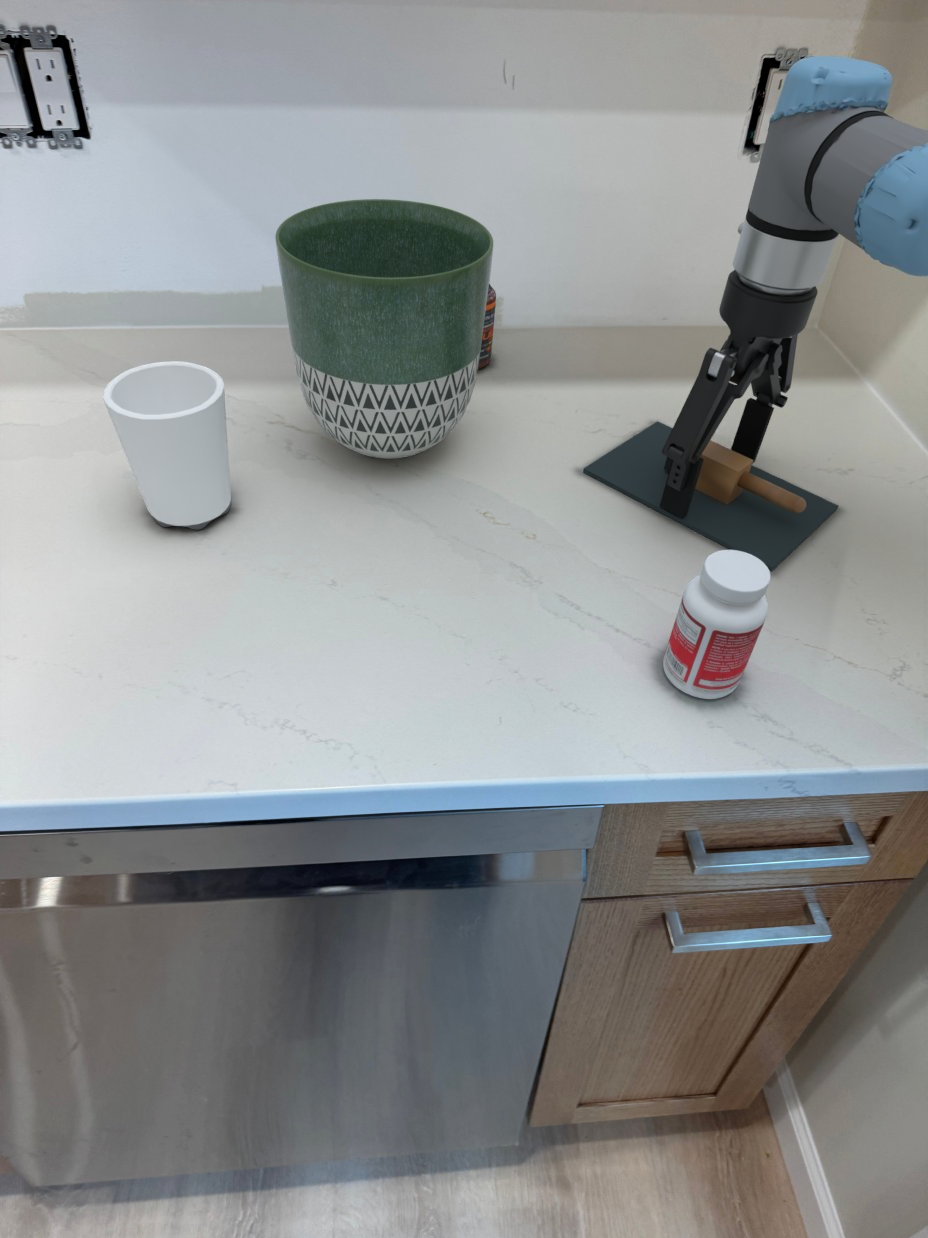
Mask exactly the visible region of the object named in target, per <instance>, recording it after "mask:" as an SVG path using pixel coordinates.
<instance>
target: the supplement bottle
mask: <svg viewBox="0 0 928 1238" xmlns="http://www.w3.org/2000/svg"><path fill="white" fill-rule="evenodd" d="M490 281H491V280H490ZM490 281H489V288H488V295H487V303H486V311H485V320H484V329H483V336H482V343H481V350H480V358H479V365H478V370H480V369H482V368H484V367H486V366H487V365H489V363H490V362H491V357H492V351H493V338H494V328H495V327H494V326H495V314H496V303H497V292H496V290H495V289H494V287H493V286H492V285H491V284H490Z"/></svg>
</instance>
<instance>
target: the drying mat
mask: <svg viewBox="0 0 928 1238" xmlns="http://www.w3.org/2000/svg"><path fill="white" fill-rule="evenodd" d="M672 429H673V427H671V426H669V425H666V424H664V423H662V422H660V421H659V420H657V421H655V422H654V423H652V424H651V425H650V426H647V427H646V428H644V429H643V430H641V431H639V432H638V433H637V434H635V435H633V436H632V437H631V438H629V439H627V440H626V441H624V442H623V443H621V444H619V445H618V446H617V447H615V448H613V449H612V450H610V451H608V452H607V453H605V454H603V455H602V456H600V457H599V458H597V459H596V460H594V461H593V462H591V463H590V464H588V465H586V466H585V467H583V470H582V472H583V473H584V474H585V475H588V476H590V477H592V478H593V479H596V480H597V481H599V482H601V483H603V484H605V485H607V486H609V487H610V488H613V489H614V490H616V491H618V492H621V493H622V494H624V495H625V496H628V497H630V498H632V499H634V500H635V501H637V502H639V503H641V504H643V505H645V506H646V507H649V508H651V509H653V510H654V511H656V512H658V513H660V514H662V515H663V516H666V517H668V518H670V519H672V520H673V521H675V522H677V523H679V524H681V525H683V526H685V527H686V528H689V529H690V530H692V531H694V532H696V533H698V534H700V535H702V536H703V537H705V538H708V539H709V540H711V541H713V542H715V543H717V544H718V545H721V546H723V547H725V548H726V549H727V550H737V551H742V552H745V553H748V554H751V555H753V556H755V557H757V558H758V559H760V560H761V561H762V562H763V563H764V564H765V565H766V566H767V567H768V569H769V571H770V572H772V571H773V570H775V569H776V568H777V567H778V566H779V565H780V564H781V563H783V561H784V560H786V559H787V557H788V556H790V554H792V553H793V552H794V551H795V550H796V549H797V548H798V547H799V546H800V545H801V544H802V543H803V542H804V541H805V540H806V539H807V538H808V537H810V536H811V535H812V534H813V533H814V532H815V531H817V529H818V528H819V527H820V526H821V525H822V524H823V523H824V522H826V520H828V518H829V517H831V516H832V515H833V514H834V513H835V512H836V511H837V510H838V508H839V505H838V504H836V503H834V502H832V501H830V500H828V499H825V498H823V497H821V496H819V495H817V494H815V493H812V492H811V491H808V490H806V489H804V488H803V487H800V486H798V485H795V484H794V483H791V482H789V481H786V480H784V479H783V478H780V477H778V476H776V475H774V474H772V473H770V472H768V471H765V470H763V469H762V468H759V467H757V466H754V465H753V464H752V466H751V469H750V472H749V473H751V474H753V475H755V476H757V477H759V478H761V479H764V480H766V481H768V482H770V483H772V484H774V485H776V486H778V487H781V488H783V489H785V490H787V491H789V492H791V493H793V494H795V495H797V496H800V497H802V498H803V499H804V500H805V501H806V508H805V510H804V511H803V512H801V513H793V512H791V511H789V510H787V509H785V508H782V507H780V506H778V505H776V504H774V503H772V502H770V501H768V500H766V499H764V498H762V497H760V496H758V495H756V494H754V493H751V492H749V491H747V490H745V489H743V492H742V494H740V495H739V496H738V497H737V498H735V499H734V500H733V501H732V502H730V503H729V504H728V505H727V504H725V503H723V502H721V501H719V500H717V499H715V498H713V497H711V496H709V495H707V494H704V493H702V492H700V491H698V490H696V489H695V490H694V493H693V496H692V500H691V503H690V506H689V509H688V513H687V515H686V516H685V517H684V518H681V517H679V516H677V515H675V514H673V513H671V512H669V511H668V510H666V509H664V508H662V507H660V502H661V499H662V495H663V491H664V488H665V484H666V480H667V477H668V473H669V471H667V470H665V469H664V466H665V462H666V458H667V456H665V455H663V454H662V450H663V447H664V445H665V443H666V441H667V439H668V437H669V435H670V433H671V431H672Z"/></svg>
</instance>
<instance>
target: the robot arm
mask: <svg viewBox="0 0 928 1238" xmlns="http://www.w3.org/2000/svg"><path fill="white" fill-rule="evenodd" d="M893 80H894V79H893V76H892V74H891V73H890V71H889V70H888V68H886V67H884V66H882V65H880V64H877V63H875V62H871V61H868V60H863V59H857V58H852V57H844V56H832V55H815V56H813V55H812V56H808V57H804V58H802V59H799V60H798V61H796V62H795V63H794V64H792V66H791V67H790V68H789V70H788V71H787V72H786V75H785V79H784V81H783V85H782V87H781V90H780V93H779V97H778V100H777V103H776V106H775V109H774V112H773V114H772V115H771V117H770V118H769V120H768V121H769V122H768V123H769V127H768V130H767V133H766V138H765V142H764V145H763V149H762V153H761V157H760V160H759V164H758V168H757V171H756V175H755V179H754V182H753V186H752V190H751V194H750V197H749V201H748V204H747V205H748V206H747V211H746V214H745V217H744V221H743V222H741V223H740V224H739V225H738V227H737V232H738V233H737V234H739V239H738V243H737V246H736V250H735V254H734V256H733V261H732V266H733V270H732V271H731V272H730V273H729V274H728V276H727V279H726V283H725V287H724V290H723V294H722V297H721V301H720V305H719V308H718V309H719V310H718V313H719V317H720V318H721V320H722V321H723V322H724V323H725V324H726V325H727V327H728V329H729V334H728V337H727V338H726V340H725V342H724V343H723V345H722V346H721V348H720V350H719V349H715V348H712V347H709V348H708V349H707V350H706V352H705V354H704V357H703V360H702V363H701V366H700V369H699V371H698V374H697V377H696V378H695V381H694V383H693V384H692V387H691V388H690V391H689V393H688V396H687V397H686V400H685V402H684V403H683V405H682V408H681V410H680V412H679V414H678V416H677V419H676V421H675V422H674V424H673V426H672V428H673V429H672V431H671V433H670V435H669V437H668V439H667V441H666V443H665V445H664V447H663V450H662V454H663V455H665V456H667V457H669V458H671V459H672V462H671V466H670V470H669V473H668V477H667V480H666V484H665V488H664V491H663V495H662V499H661V502H660V507H662V508H664V509H666V510H668V511H669V512H671V513H673V514H675V515H677V516H679V517H681V518H684V517H685V516H686V515H687V513H688V509H689V506H690V503H691V500H692V496H693V493H694V490H695V487H696V483H697V480H698V477H699V474H700V470H701V467H702V464H703V460H704V459H702V458H700V456H701V455H702V453H703V451H704V450H705V448H706V446H707V445H708V443H709V441H710V440H711V441H712V438H713V437H714V435H715V433H716V432H717V430H718V428H719V426H720V425H721V423H722V422H723V420H724V418H725V416H726V414H727V413H728V411H729V410H730V408H731V406H732V405H733V403H734V402H735V400H737V399H741V398H742V397H744V395H745V393H746V392H747V390H748V388H749V386H751V391H752V396H753V397H755V398H756V399H755V398H753V397H750V398H748V399H747V400H746V402H745V404H744V408H743V411H742V413H741V417H740V420H739V424H738V427H737V430H736V433H735V436H734V438H733V442H732V445H731V448H730V450H733V451H735V452H737V453H739V454H741V455H743V456H746V457H748V458H750V459H752V460H753V463H752V465H753V464H754V463H756V461H757V457H758V455H759V452H760V449H761V446H762V443H763V440H764V438H765V435H766V433H767V429H768V426H769V425H770V421H771V418H772V416H773V412H774V410H775V407H778V408H781V409H782V408H784V407H785V405H786V404H787V402H788V396H786V395H783V394H786V393H788V392H789V391H790V389H791V386H792V381H793V374H794V366H795V359H796V351H797V343H798V336H799V334H800V333H801V332H803V331H804V329H805V328H806V326H807V325H808V321H809V318H810V315H811V312H812V310H813V307H814V304H815V301H816V299H817V296H818V288H817V286H819V285H820V284H822V283H823V281H824V279H825V276H826V273H827V270H828V268H829V264H830V262H831V259H832V255H833V253H834V250H835V248H836V245H837V241H838V238H839V236H842V237H843V238H845V239H846V240H847V241H849V242H851V243H852V244H853V245H855V246H857V247H858V248H859V249H861V250H863V251H864V253H865V254H867V255H868V256H870V258H871V259H872V260H875V261H879V263H880V264H882V265H884V266H887V267H891V268H894V269H896V270H898V271H900V272H902V273H905V274H906V275H910V276H913V277H914V276H915V277H928V129H924V128H919V127H916V126H914V125H912V124H909V123H906V122H905V121H904V122H903V121H901V120H898V119H896V118H894V117H893V116H890V115H889V114H887V113H885V111H886V110H887V108H888V106H889V98H890V94H891V89H892V87H893ZM782 393H783V394H782ZM773 405H774V406H775V407H773Z"/></svg>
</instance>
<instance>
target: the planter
mask: <svg viewBox="0 0 928 1238" xmlns="http://www.w3.org/2000/svg"><path fill="white" fill-rule="evenodd" d="M274 237H275V238H274V239H275V247H276V254H277V255H276V256H277V261H278V262H277V263H278V270H279V274H280V280H281V286H282V291H283V292H282V293H283V298H284V304H285V311H286V318H287V324H288V325H287V326H288V330H289V337H290V342H291V348H292V349H291V350H292V354H293V361H294V366H295V371H296V376H297V380H298V383H299V386H300V390H301V392H302V395H303V398H304V401H305V402H306V405H307V407H308V409H309V411H310V413H311V415H312V416H313V418H314V420H315V421H316V422H317V424H319V426H320V427H321V429H323V430H324V431H325V433H326V434H328V435H329V436H330V438H332V439H334V440H335V441H336V442H338V443H339V444H341V445H342V446H343V447H345V448H347V449H349V450H351V451H354V452H355V453H358V454H360V455H364V456H365V457H366V456H367V457H370V458H375V459H376V458H377V459H385V460H386V459H388V460H389V459H392V460H394V459H402V458H407V457H411V456H414V455H417V454H420V453H423V452H424V451H427V450H429V449H430V448H433V447H434V446H436V445H437V444H438V443H440V442H442V440H444V439H445V438H446V437H447V436H448V435H450V433H451V432H452V431H453V430H454V429H455V428H456V427H457V426H458V424H459V423H460V421H461V420H462V419H463V416H464V415H465V413H466V411H467V409H468V406H469V404H470V401H471V400H472V397H473V396H472V395H473V393H474V390H475V386H476V382H477V377H478V372H479V369H478V365H479V358H480V350H481V343H482V336H483V329H484V320H485V311H486V303H487V295H488V288H489V284H490V282H489V281H491V272H492V265H493V256H494V255H493V254H494V238H493V235H492V233H491V232H490V230H489V229H487V227H486V226H485V225H484V224H483V223H481V222H480V221H478V220H476V219H475V218H473V217H471V216H469V215H467V214H464V213H462V212H459V211H458V210H457V211H456V210H454V209H450V208H447V207H444V206H440V205H436V204H431V203H425V202H419V201H413V200H412V201H411V200H404V199H390V198H389V199H388V198H387V199H386V198H385V199H383V198H368V199H367V198H366V199H351V200H342V201H335V202H329V203H324V204H320V205H316V206H313V207H310V208H306V209H304V210H301V211H298V212H297V213H295V214H292V215H291V216H289V217H288V218H286V219H285V220H284V221H282V222H281V224H280V225H278V227H277V229H276V232H275V236H274Z"/></svg>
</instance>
